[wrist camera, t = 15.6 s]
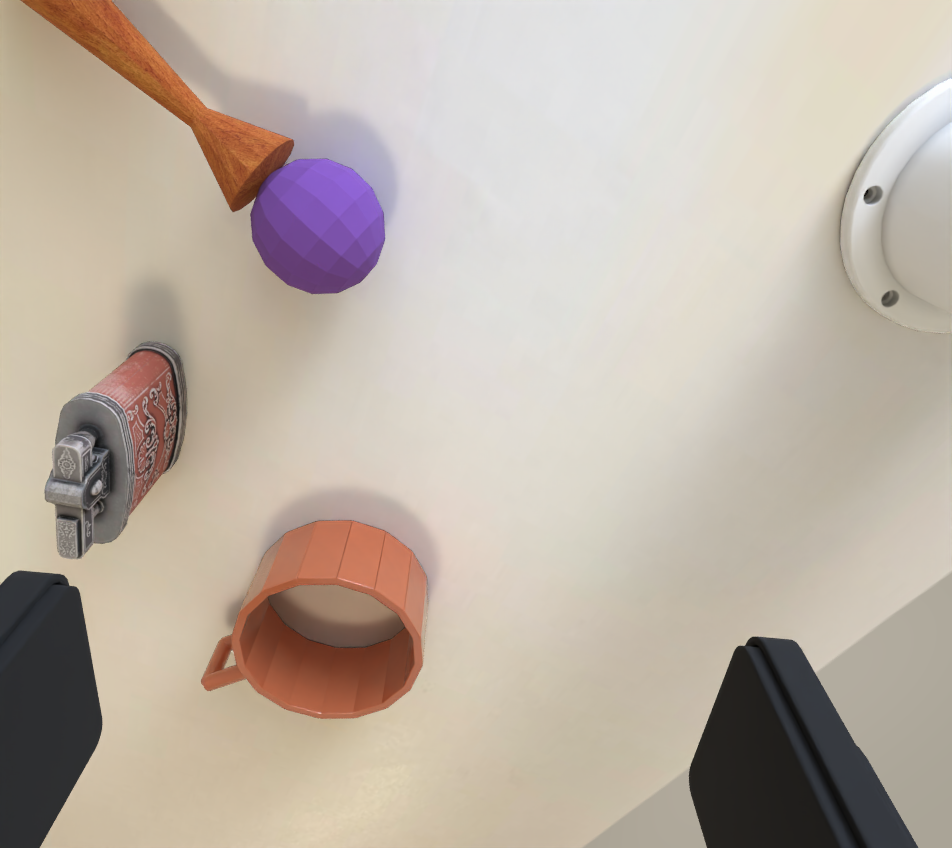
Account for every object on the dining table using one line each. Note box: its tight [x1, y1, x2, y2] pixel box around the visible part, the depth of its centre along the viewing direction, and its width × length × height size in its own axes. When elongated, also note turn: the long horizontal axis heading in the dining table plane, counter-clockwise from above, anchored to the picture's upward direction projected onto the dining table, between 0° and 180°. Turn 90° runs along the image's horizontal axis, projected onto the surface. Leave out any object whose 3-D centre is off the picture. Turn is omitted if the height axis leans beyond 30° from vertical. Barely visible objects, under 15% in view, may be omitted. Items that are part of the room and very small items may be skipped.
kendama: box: [21, 0, 385, 294], centre depth 30 cm, size 6×6×20 cm
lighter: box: [45, 341, 187, 559], centre depth 35 cm, size 8×3×10 cm, turn 167°
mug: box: [201, 520, 428, 719], centre depth 43 cm, size 14×11×6 cm
